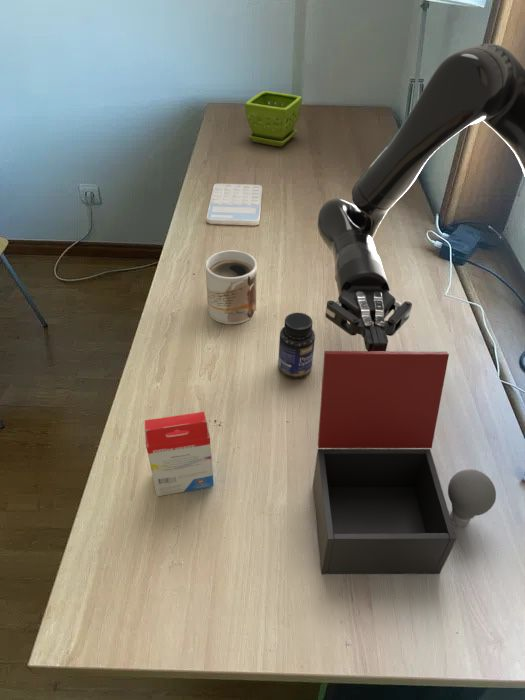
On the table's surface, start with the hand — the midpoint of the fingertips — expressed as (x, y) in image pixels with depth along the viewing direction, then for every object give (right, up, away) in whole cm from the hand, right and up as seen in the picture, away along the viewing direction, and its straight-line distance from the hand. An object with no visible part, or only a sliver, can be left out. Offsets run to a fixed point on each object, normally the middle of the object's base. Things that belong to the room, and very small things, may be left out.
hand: (378, 350), depth 75 cm
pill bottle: (-10, -3, +27) cm, 29 cm away
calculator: (-23, +37, +72) cm, 84 cm away
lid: (0, -7, -2) cm, 7 cm away
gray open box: (0, -25, +3) cm, 25 cm away
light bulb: (+12, -24, +4) cm, 27 cm away
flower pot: (-12, +67, +106) cm, 126 cm away
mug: (-21, +9, +40) cm, 46 cm away
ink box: (-27, -19, +9) cm, 35 cm away
